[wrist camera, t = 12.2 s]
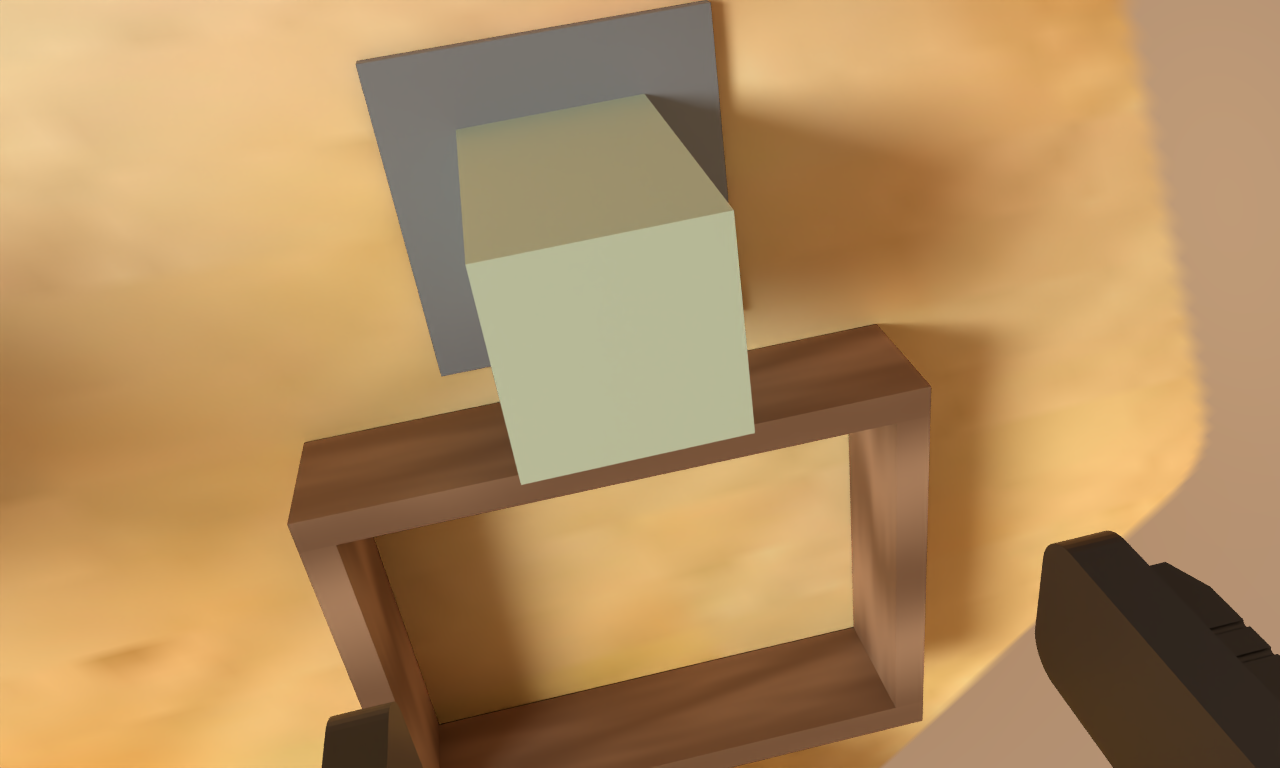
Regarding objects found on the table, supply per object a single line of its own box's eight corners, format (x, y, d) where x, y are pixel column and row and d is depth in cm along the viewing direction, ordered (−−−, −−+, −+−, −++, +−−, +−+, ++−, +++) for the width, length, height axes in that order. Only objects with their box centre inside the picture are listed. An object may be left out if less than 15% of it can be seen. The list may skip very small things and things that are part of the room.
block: (455, 129, 25) (465, 264, 18) (644, 93, 26) (733, 210, 18) (497, 302, 28) (521, 484, 20) (668, 266, 28) (755, 432, 21)
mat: (356, 60, 24) (355, 64, 24) (706, -1, 25) (710, 2, 25) (441, 369, 29) (441, 376, 29) (734, 310, 30) (738, 315, 30)
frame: (304, 442, 30) (287, 524, 26) (876, 324, 31) (931, 386, 28) (419, 749, 37) (417, 844, 33) (878, 640, 38) (922, 720, 35)
